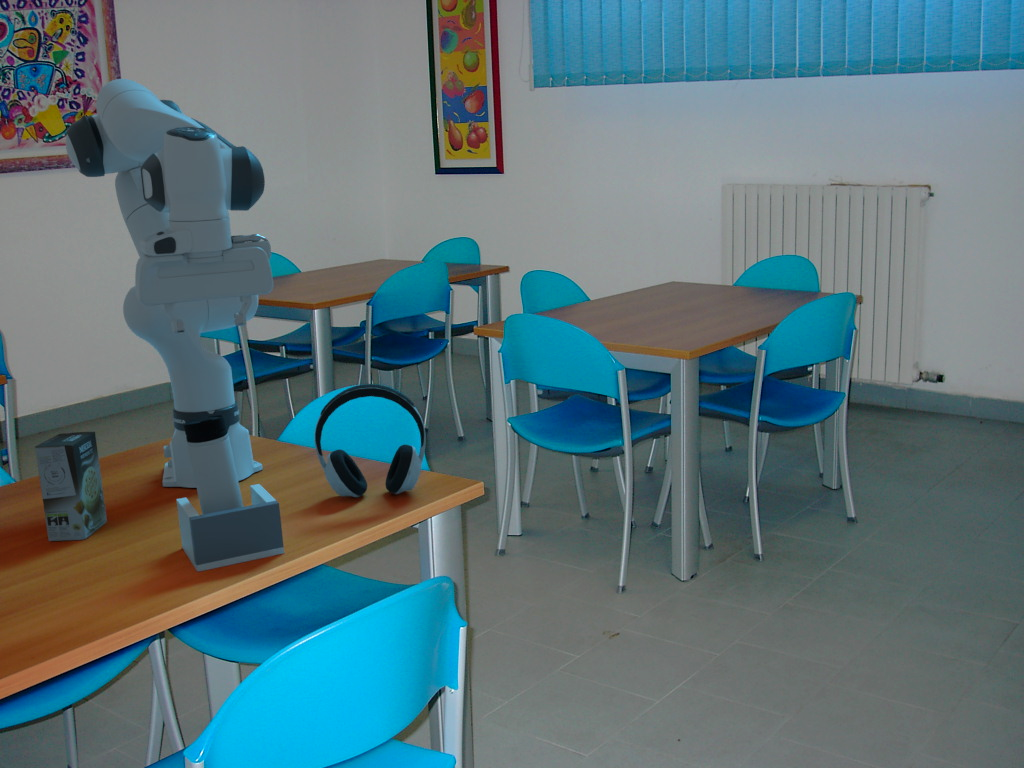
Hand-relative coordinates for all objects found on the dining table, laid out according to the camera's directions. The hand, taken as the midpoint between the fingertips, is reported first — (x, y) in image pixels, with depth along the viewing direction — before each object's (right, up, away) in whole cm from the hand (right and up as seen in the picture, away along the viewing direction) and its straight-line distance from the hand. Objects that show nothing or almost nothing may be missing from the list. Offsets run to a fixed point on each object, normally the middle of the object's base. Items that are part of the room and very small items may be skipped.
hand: (209, 328), depth 167 cm
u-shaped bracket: (+3, -34, +1) cm, 34 cm away
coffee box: (-26, -33, +14) cm, 45 cm away
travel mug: (+2, -33, +3) cm, 33 cm away
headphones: (+22, -28, +25) cm, 44 cm away
